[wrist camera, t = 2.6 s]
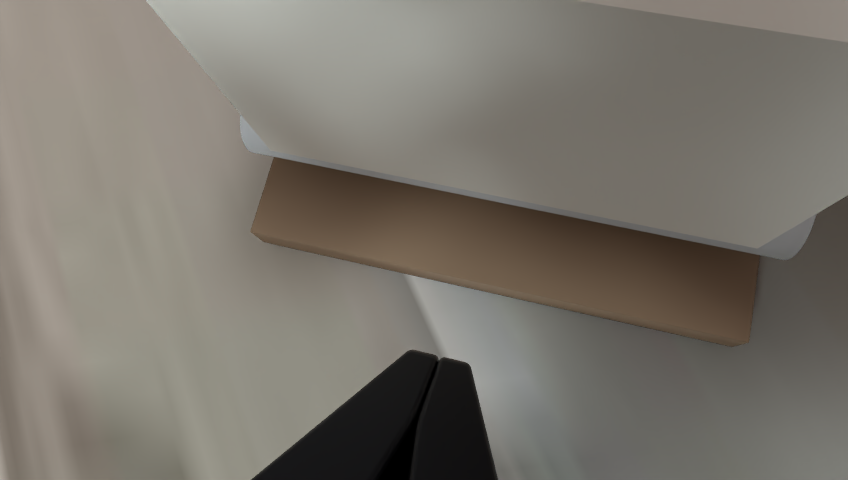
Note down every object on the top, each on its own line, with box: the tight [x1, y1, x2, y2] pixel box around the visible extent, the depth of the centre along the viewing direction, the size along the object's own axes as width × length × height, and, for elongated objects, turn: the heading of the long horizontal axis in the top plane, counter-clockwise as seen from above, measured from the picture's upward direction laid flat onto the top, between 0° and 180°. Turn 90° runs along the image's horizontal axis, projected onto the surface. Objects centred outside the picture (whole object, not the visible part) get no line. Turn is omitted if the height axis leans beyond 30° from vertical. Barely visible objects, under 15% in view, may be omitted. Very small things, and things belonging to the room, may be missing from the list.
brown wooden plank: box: [250, 157, 760, 347], centre depth 20 cm, size 18×14×1 cm
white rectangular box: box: [146, 0, 848, 260], centre depth 14 cm, size 7×14×10 cm, turn 76°
